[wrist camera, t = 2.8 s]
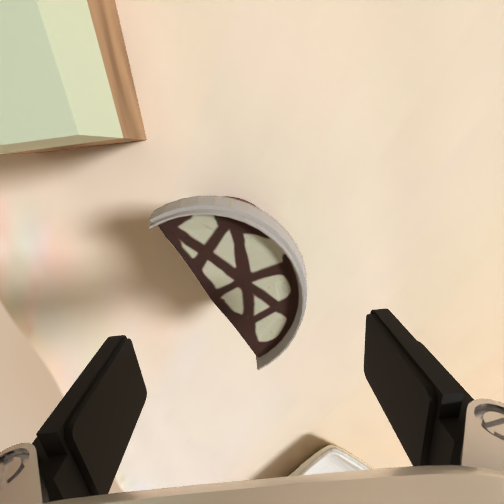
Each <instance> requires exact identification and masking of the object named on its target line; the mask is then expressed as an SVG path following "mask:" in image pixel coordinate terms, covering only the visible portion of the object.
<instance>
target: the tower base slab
mask: <svg viewBox="0 0 504 504" xmlns="http://www.w3.org/2000/svg"><path fill="white" fill-rule="evenodd" d="M87 3H88V7H89V10H90V14H91V18H92V22H93V25H94V29H95V33H96V37H97V40H98V44H99V48H100V52H101V55H102V59H103V63H104V67H105V71H106V74H107V78H108V82H109V86H110V89H111V93H112V97H113V101H114V104H115V108H116V112H117V116H118V119H119V123H120V127H121V131H122V134H123V138H120V139H113V140H105V141H98V142H90V143H83V144H75V145H67V146H60V147H52V148H45V149H37V150H29V151H22V152H14V153H39V152H47V151H56V150H64V149H73V148H81V147H89V146H98V145H106V144H115V143H123V142H132V141H140V140H147V139H146V135H145V130H144V126H143V122H142V117H141V113H140V109H139V104H138V100H137V95H136V91H135V87H134V82H133V78H132V74H131V69H130V65H129V60H128V56H127V52H126V47H125V43H124V39H123V34H122V30H121V25H120V21H119V17H118V12H117V8H116V4H115V0H87Z"/></svg>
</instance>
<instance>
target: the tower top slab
mask: <svg viewBox="0 0 504 504" xmlns="http://www.w3.org/2000/svg"><path fill="white" fill-rule="evenodd" d="M120 138H123V134H122V131H121V127H120V123H119V119H118V116H117V112H116V108H115V104H114V101H113V97H112V93H111V89H110V86H109V82H108V78H107V74H106V71H105V67H104V63H103V59H102V55H101V52H100V48H99V44H98V40H97V37H96V33H95V29H94V25H93V22H92V18H91V14H90V10H89V7H88V3H87V0H0V154H7V153H14V152H22V151H29V150H37V149H45V148H52V147H60V146H67V145H75V144H83V143H90V142H98V141H105V140H113V139H120Z"/></svg>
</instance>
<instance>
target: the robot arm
mask: <svg viewBox="0 0 504 504" xmlns="http://www.w3.org/2000/svg"><path fill="white" fill-rule="evenodd" d="M364 373H365V376H366V379H367V381H368V382H369V384H370V386H371V388H372V390H373V392H374V394H375V396H376V397H377V399H378V401H379V403H380V405H381V407H382V409H383V411H384V412H385V414H386V416H387V418H388V420H389V422H390V424H391V425H392V427H393V429H394V431H395V433H396V435H397V437H398V439H399V440H400V442H401V444H402V446H403V448H404V450H405V452H406V453H407V455H408V457H409V459H410V461H411V463H412V465H413V466H411V467H396V468H381V469H368V470H356V471H345V472H334V473H322V474H311V475H299V476H288V477H277V478H266V479H256V480H245V481H234V482H224V483H213V484H202V485H192V486H182V487H172V488H162V489H152V490H142V491H132V492H122V493H114V494H108V492H109V490H110V488H111V485H112V482H113V480H114V478H115V475H116V473H117V470H118V468H119V465H120V463H121V460H122V458H123V455H124V453H125V450H126V448H127V445H128V443H129V440H130V438H131V435H132V433H133V430H134V428H135V426H136V423H137V421H138V418H139V416H140V413H141V411H142V408H143V406H144V403H145V401H146V397H147V390H146V387H145V383H144V380H143V377H142V374H141V370H140V367H139V364H138V361H137V357H136V354H135V351H134V348H133V344H132V341H131V339H127V337H126V336H124V335H121V336H111V337H108V338H107V339H106V341H105V342H104V343H103V345H102V346H101V348H100V349H99V350H98V352H97V353H96V354H95V356H94V357H93V358H92V360H91V361H90V362H89V364H88V365H87V366H86V368H85V369H84V370H83V372H82V373H81V374H80V376H79V377H78V379H77V380H76V381H75V383H74V384H73V385H72V387H71V388H70V389H69V391H68V392H67V393H66V395H65V396H64V397H63V399H62V400H61V401H60V403H59V404H58V406H57V407H56V408H55V410H54V411H53V412H52V414H51V415H50V416H49V418H48V419H47V420H46V422H45V423H44V424H43V426H42V427H41V428H40V430H39V431H38V432H37V438H36V439H35V440H34V442H33V443H32V444H30V443H21V444H17V445H14V446H12V447H9V448H7V449H5V450H3V451H2V452H0V504H504V404H503V403H501V402H498V401H494V400H490V399H477V400H474V399H473V398H472V397H471V396H470V395H469V394H468V393H467V392H466V391H465V390H464V388H463V387H462V386H461V385H460V384H459V383H458V382H457V381H456V380H455V379H454V378H453V377H452V375H451V374H450V373H449V372H448V371H447V370H446V369H445V368H444V367H443V366H442V365H441V364H440V362H439V361H438V360H437V359H436V358H435V357H434V356H433V355H432V354H431V353H430V352H429V351H428V349H427V348H426V347H425V346H424V345H423V344H422V343H420V342H418V341H417V340H416V339H415V338H414V337H413V336H412V335H411V334H410V333H409V331H408V330H407V329H406V328H405V327H404V326H403V325H402V324H401V323H400V322H399V320H398V319H397V318H396V317H395V316H394V315H393V314H392V313H391V312H390V311H389V310H388V309H378V310H372V311H371V312H370V314H368V315H367V316H366V333H365V354H364Z"/></svg>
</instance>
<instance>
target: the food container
mask: <svg viewBox="0 0 504 504" xmlns="http://www.w3.org/2000/svg"><path fill="white" fill-rule="evenodd" d="M149 221H150V222H151V223H152V224H151V225H150V226H149V227H148V228H149V229H150V228H152V227H155V226H157V225H158V226H159V227H160V229H161V230H162V231H163V233H164V235H165V236H166V238H167V239H169V240H170V242H171V243H172V244H173V245H174V246H175V248H176V249H177V250H178V252H179V253H180V254H181V256H182V257H183V259H184V260H185V261H186V263H187V264H188V265H189V267H190V268H191V270H192V271H193V273H194V274H195V276H196V277H197V278H198V280H199V282H200V283H201V285H202V286H203V288H204V289H205V291H206V292H207V294H208V295H209V296H210V298H211V299H212V301H213V302H214V303H215V304H216V306H217V307H218V308H219V309H220V310H221V312H222V313H223V314H224V315H225V316H226V317H227V318H228V319H229V321H230V322H231V323H232V324H233V325H234V327H235V328H236V329H237V331H238V332H239V333H240V334H241V336H242V337H243V338H244V340H245V341H246V342H247V344H248V345H249V346H250V348H251V349H252V350H253V352H254V353H255V354H256V360H257V369H258V370H260V369H261V368H263V367H265V366H267V365H268V364H270V363H271V362H272V361H274V360H275V359H276V358H278V357H279V356H280V355H281V354H282V353H283V352H284V350H285V349H286V348H287V347H288V346H289V344H290V343H291V341H292V340H293V339H294V337H295V335H296V333H297V331H298V329H299V326H300V324H301V322H302V319H303V316H304V312H305V308H306V299H307V277H306V269H305V265H304V261H303V258H302V255H301V253H300V251H299V249H298V247H297V244H296V243H295V241H294V240H293V238H292V237H291V236H290V234H289V233H288V231H287V230H286V229H285V228H284V227H283V226H282V225H281V224H280V223H279V222H278V221H277V220H275V219H274V218H273V217H271V216H270V215H268V214H267V213H266V212H264V211H263V210H261V209H259V208H258V207H256V206H255V205H253V204H252V203H250V202H248V201H245V200H243V199H239V198H235V197H228V196H226V197H220V196H196V197H190V198H183V199H180V200H177V201H174V202H171V203H168V204H166V205H164V206H162V207H160V208H158V209H156V210H155V211H154V212H153V214H152V216H151V218H150V220H149Z"/></svg>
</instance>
